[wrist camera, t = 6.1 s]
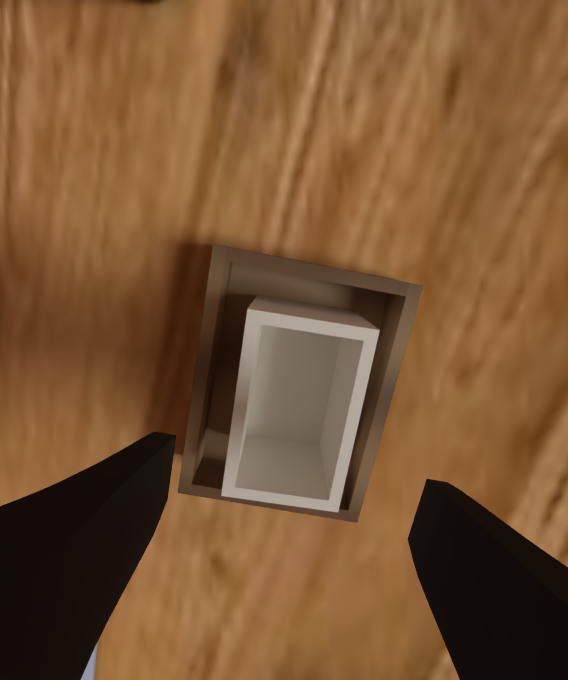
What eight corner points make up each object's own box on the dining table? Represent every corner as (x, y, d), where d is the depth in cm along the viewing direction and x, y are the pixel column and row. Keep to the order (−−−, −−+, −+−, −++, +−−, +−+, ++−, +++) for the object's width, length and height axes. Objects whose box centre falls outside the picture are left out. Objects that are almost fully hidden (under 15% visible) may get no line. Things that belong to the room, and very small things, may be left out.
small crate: (324, 450, 20) (338, 512, 15) (236, 437, 20) (221, 496, 15) (354, 310, 18) (379, 330, 13) (257, 295, 18) (247, 308, 13)
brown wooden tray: (346, 484, 21) (357, 522, 18) (193, 458, 21) (177, 492, 18) (400, 281, 18) (423, 285, 15) (224, 246, 18) (213, 244, 15)
